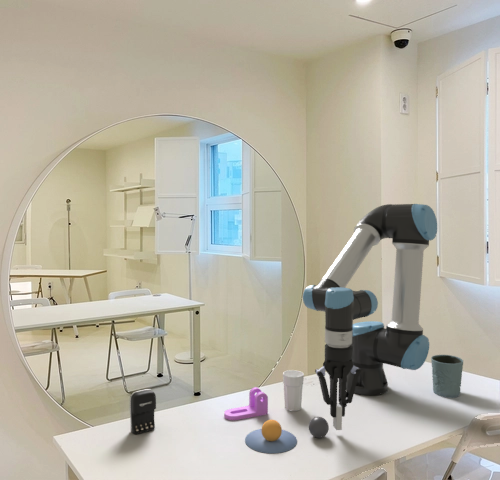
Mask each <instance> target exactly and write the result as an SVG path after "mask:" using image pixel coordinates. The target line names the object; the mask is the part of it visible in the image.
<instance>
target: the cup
mask: <svg viewBox="0 0 500 480" xmlns="http://www.w3.org/2000/svg"><path fill="white" fill-rule="evenodd" d="M304 378H305V374H304V372H303V371H300V370H295V369H287V370H285V371H283V372H282V381H283V382H282V384H283V395H284V396H283V397H284V409H286V410H287V411H291V412H296V411H300V410H301V409H302V401H303V400H302V399H303V385H304Z"/></svg>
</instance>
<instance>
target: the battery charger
mask: <svg viewBox="0 0 500 480" xmlns="http://www.w3.org/2000/svg"><path fill="white" fill-rule="evenodd" d="M156 409H157V396H156V393H155V392H154V391H153V389H151V388H144V389H139V390H136V391H133V392H131V394H130V396H129V416H130V432H131V433H132V434H134V435H139V434H140V435H141V434H143V433H147V432H150V431H154V430H155V427H156V425H155V423H156V422H155V410H156Z"/></svg>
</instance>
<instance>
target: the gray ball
mask: <svg viewBox="0 0 500 480" xmlns="http://www.w3.org/2000/svg"><path fill="white" fill-rule="evenodd" d="M329 427H330V426H329V423H328V421H327V420H326V419H325V418H324V417H323V416H314V417H313V418H311V419H310V421H309V423H308V431H309V433H310V435H311V436H313V437H314V438H316V439H322V438H324V437H326V436H327V435H328V433H329V431H330V430H329V429H330V428H329Z"/></svg>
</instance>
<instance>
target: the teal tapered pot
mask: <svg viewBox="0 0 500 480" xmlns="http://www.w3.org/2000/svg"><path fill="white" fill-rule="evenodd" d="M430 359H431V367H432V368H431V369H432V370H431V374H432V391H433V393H434V394H435V395H436V396H439V397H442V398H449V399H453V398H458V397H460V395H461V387H462V376H463V368H464V359H463V358H461V357H458V356H456V355H450V354H434V355H432V356H431V358H430Z"/></svg>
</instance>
